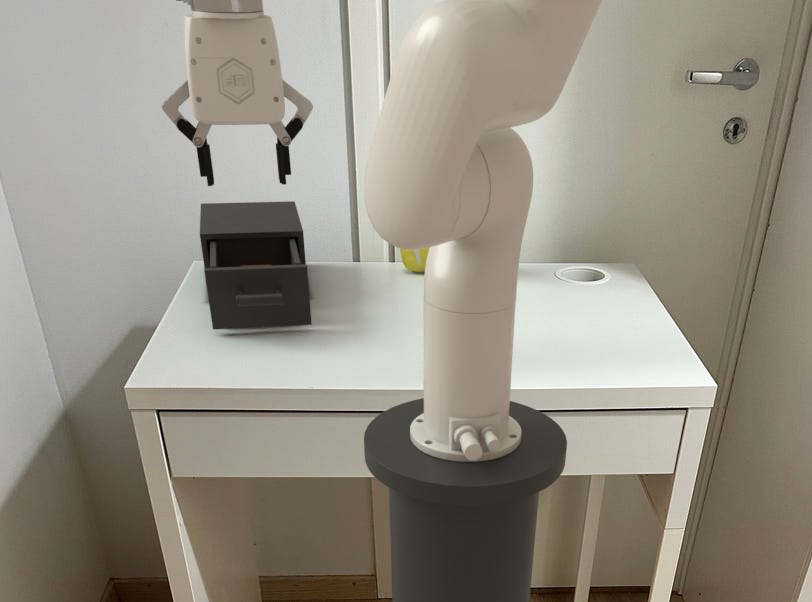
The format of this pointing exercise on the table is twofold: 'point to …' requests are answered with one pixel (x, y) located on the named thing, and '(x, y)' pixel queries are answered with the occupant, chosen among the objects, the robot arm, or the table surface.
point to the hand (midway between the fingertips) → (246, 181)
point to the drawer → (257, 283)
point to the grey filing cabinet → (249, 223)
